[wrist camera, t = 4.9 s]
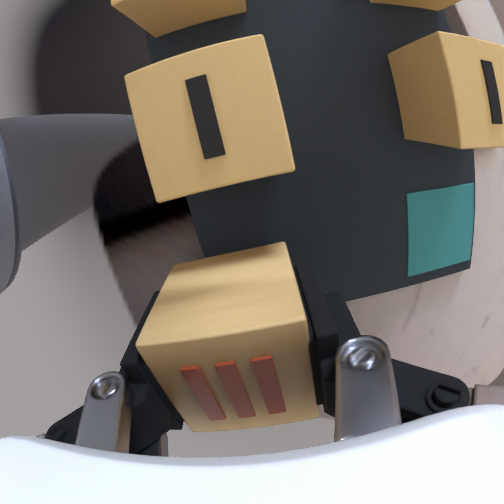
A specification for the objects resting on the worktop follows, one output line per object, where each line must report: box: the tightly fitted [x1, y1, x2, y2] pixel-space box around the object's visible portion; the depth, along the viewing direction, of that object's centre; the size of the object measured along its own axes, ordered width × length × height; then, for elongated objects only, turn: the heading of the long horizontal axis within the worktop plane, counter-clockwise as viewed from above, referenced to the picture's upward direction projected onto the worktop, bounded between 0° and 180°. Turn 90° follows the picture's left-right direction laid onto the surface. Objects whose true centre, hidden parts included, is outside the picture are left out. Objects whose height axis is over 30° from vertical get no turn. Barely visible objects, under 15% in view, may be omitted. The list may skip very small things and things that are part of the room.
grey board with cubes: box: [111, 0, 504, 301], centre depth 9 cm, size 20×15×5 cm
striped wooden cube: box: [136, 242, 320, 432], centre depth 9 cm, size 4×4×5 cm
